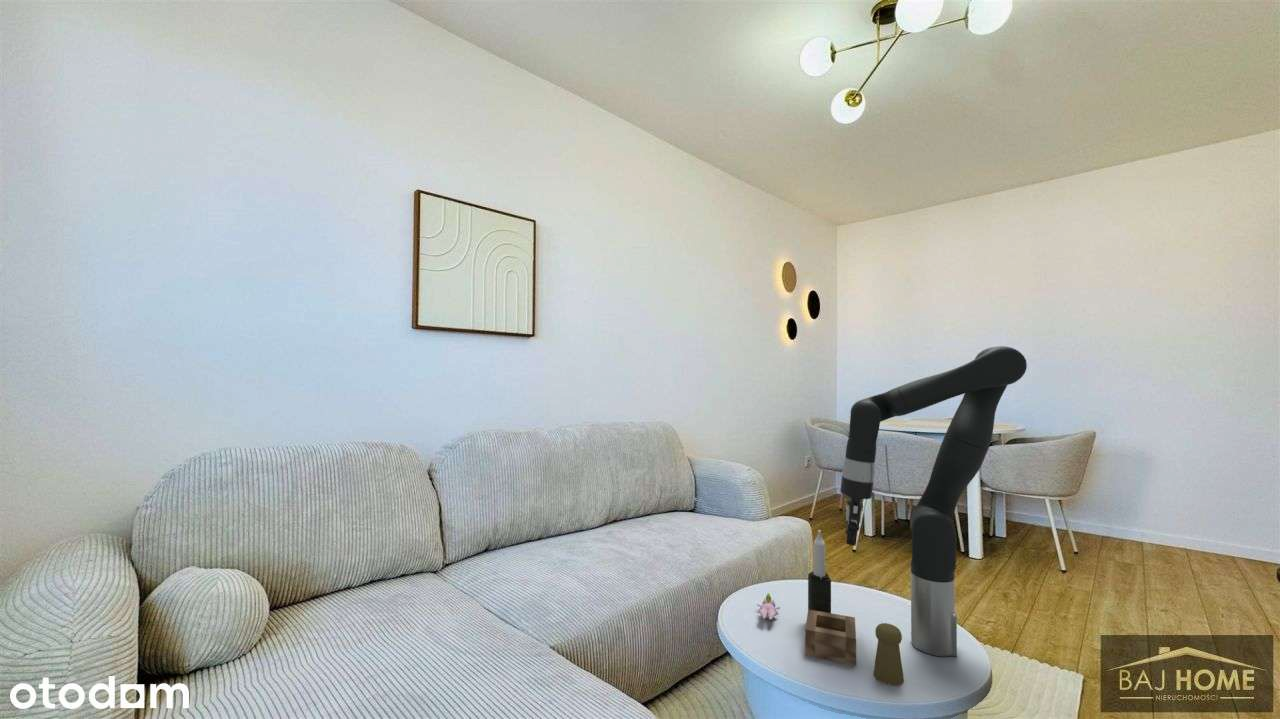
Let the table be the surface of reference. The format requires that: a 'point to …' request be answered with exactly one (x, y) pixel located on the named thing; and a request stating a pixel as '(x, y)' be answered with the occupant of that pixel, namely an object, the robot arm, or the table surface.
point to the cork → (888, 655)
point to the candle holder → (830, 637)
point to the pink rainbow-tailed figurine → (768, 608)
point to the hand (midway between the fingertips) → (850, 539)
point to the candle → (819, 580)
